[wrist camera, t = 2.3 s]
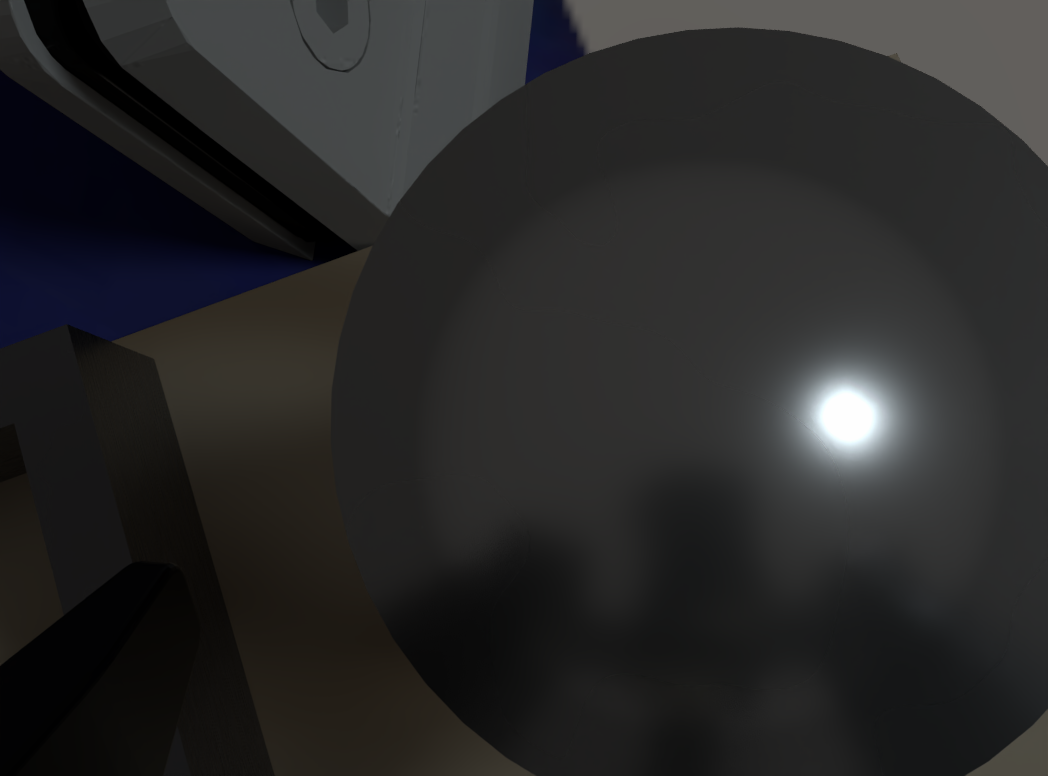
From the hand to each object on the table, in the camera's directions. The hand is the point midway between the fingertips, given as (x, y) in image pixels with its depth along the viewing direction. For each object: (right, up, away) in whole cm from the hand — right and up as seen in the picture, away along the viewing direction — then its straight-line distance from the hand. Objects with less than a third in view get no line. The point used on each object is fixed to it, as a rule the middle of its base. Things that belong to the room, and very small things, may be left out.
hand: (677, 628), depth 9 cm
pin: (+1, 0, +9) cm, 8 cm away
